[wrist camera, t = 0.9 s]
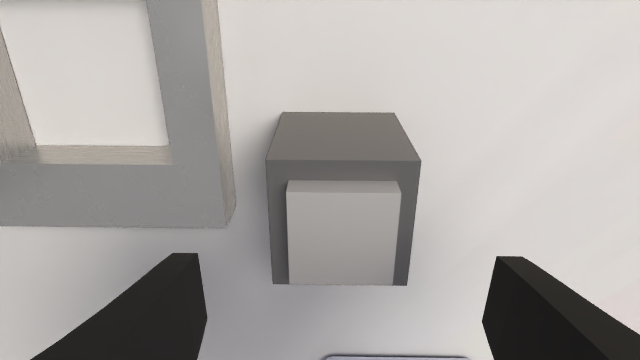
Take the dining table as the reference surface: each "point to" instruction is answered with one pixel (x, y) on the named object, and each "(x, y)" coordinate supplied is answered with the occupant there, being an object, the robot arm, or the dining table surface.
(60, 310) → the dining table surface
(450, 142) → the dining table surface
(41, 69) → the dining table surface
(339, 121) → the plug
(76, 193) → the socket plate
